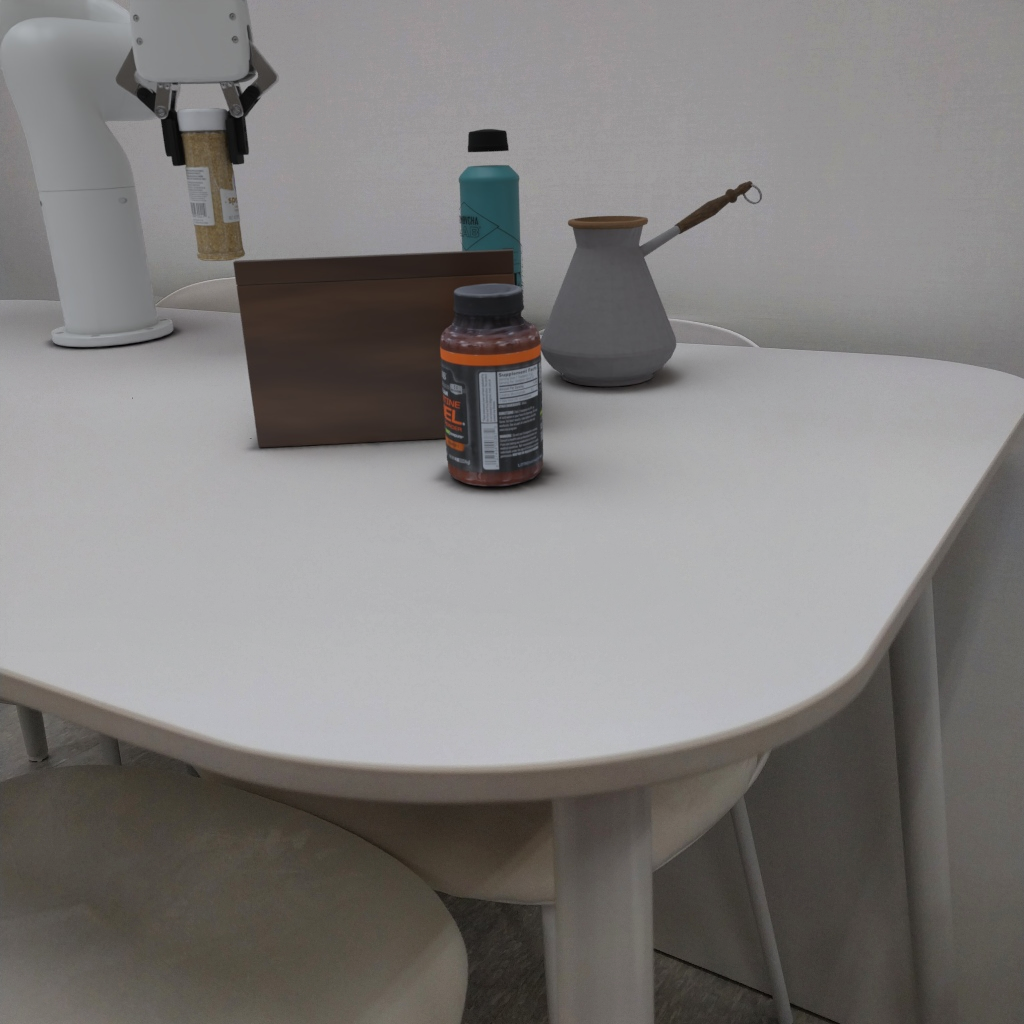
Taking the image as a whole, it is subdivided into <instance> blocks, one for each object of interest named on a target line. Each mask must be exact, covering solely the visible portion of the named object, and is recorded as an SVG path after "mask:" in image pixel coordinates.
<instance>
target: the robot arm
mask: <svg viewBox="0 0 1024 1024" xmlns="http://www.w3.org/2000/svg"><path fill="white" fill-rule="evenodd" d="M128 7H129V10H128V9H126V8H124V6H121V5H120V4H119V3H117V2H116V1H114V0H0V71H1V72H2V77H3V80H4V83H5V86H6V88H7V91H8V94H9V96H10V98H11V101H12V103H13V106H14V109H15V111H16V113H17V117H18V120H19V122H20V125H21V128H22V131H23V134H24V137H25V141H26V144H27V149H28V152H29V156H30V161H31V166H32V170H33V174H34V180H35V184H36V190H37V192H38V198H39V203H40V208H41V213H42V218H43V223H44V228H45V232H46V237H47V243H48V248H49V252H50V256H51V257H50V258H51V261H52V266H53V267H52V268H53V271H54V277H55V281H56V286H57V287H56V288H57V292H58V297H59V301H60V306H61V311H62V317H63V321H64V325H62V326H59V327H56V328H55V329H53V330H52V331H51V333H50V335H51V340H52V343H54V344H55V345H58V346H62V347H70V348H71V347H73V348H74V347H75V348H94V347H109V346H119V345H120V346H121V345H129V344H135V343H140V342H146V341H151V340H155V339H159V338H162V337H165V336H168V335H170V334H172V333H173V331H174V322H173V320H172V319H170V318H168V317H164V316H158V315H157V309H156V304H155V303H156V302H155V295H154V291H153V285H152V279H151V273H150V267H149V261H148V255H147V248H146V243H145V237H144V231H143V226H142V225H143V224H142V218H141V212H140V208H139V202H138V195H137V189H136V184H135V178H134V172H133V168H132V165H131V162H130V159H129V157H128V155H127V153H126V151H125V150H124V148H123V145H122V144H121V143H120V142H119V140H118V139H117V137H116V136H115V135H114V132H112V130H111V129H110V127H109V126H108V125H107V122H143V121H145V122H146V121H152V120H156V119H159V120H160V126H161V131H162V139H163V145H164V151H165V155H166V157H169V158H170V157H171V163H172V166H173V167H182V166H186V163H185V154H184V149H183V140H182V137H181V131H179V127H178V118H177V107H178V100H179V98H180V95H181V89H182V85H209V84H210V85H211V84H215V85H216V84H219V85H220V88H221V91H222V94H223V97H224V100H225V102H226V105H227V108H228V110H227V111H228V118H227V120H225V124H226V133H227V141H228V149H229V157H230V163H232V165H235V166H237V165H239V166H240V165H243V164H245V156H249V155H250V147H249V138H248V129H247V121H246V118H247V117H248V116H249V113H250V112H251V111H252V110H253V108H254V107H255V106H256V104H258V102H259V101H260V100H261V98H262V97H263V96H264V95H265V94H267V93H268V92H269V91H270V90H271V89H272V88H273V87H274V86H275V85H277V84H278V82H279V81H280V76H279V74H278V73H277V71H276V70H275V69H274V68H273V66H272V65H271V64H270V63H269V61H268V60H267V59H266V58H265V56H264V55H263V54H262V53H261V51H260V50H259V49H258V48H257V46H256V45H255V41H254V35H253V34H254V33H253V27H252V21H251V16H250V10H249V5H248V0H128ZM256 76H257V77H256ZM255 77H256V79H255V80H254V81H253V82H252V83H251V84H250V85H248V86H247V87H246V88H245V89H244V91H243V90H242V86H241V83H246V82H249V81H251V80H253V79H254V78H255Z"/></svg>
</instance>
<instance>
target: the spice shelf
mask: <svg viewBox="0 0 1024 1024" xmlns="http://www.w3.org/2000/svg"><path fill="white" fill-rule="evenodd" d="M232 264H233V271H234V278H235V284H236V291H237V300H238V308H239V313H240V321H241V328H242V329H241V330H242V337H243V344H244V352H245V358H246V359H245V360H246V366H247V372H248V380H249V387H250V396H251V403H252V410H253V418H254V425H255V433H256V438H257V447H258V448H279V447H298V446H299V447H300V446H318V445H319V446H321V445H335V444H336V445H340V444H359V443H360V444H361V443H379V442H380V443H381V442H399V441H417V440H420V441H421V440H438V439H446V437H445V421H444V404H443V388H442V371H441V353H440V339H441V335H442V333H443V332H444V330H445V329H446V328H448V327H449V326H451V325H452V323H453V320H454V317H455V312H454V310H453V308H454V291H455V290H456V289H457V288H460V287H464V286H471V285H479V284H511V285H514V255H513V249H502V250H478V251H462V250H456V251H433V252H432V251H431V252H409V253H385V254H382V253H381V254H361V255H336V256H315V257H314V256H313V257H311V256H310V257H290V258H289V257H287V258H266V259H243V260H242V259H241V260H233V263H232Z"/></svg>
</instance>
